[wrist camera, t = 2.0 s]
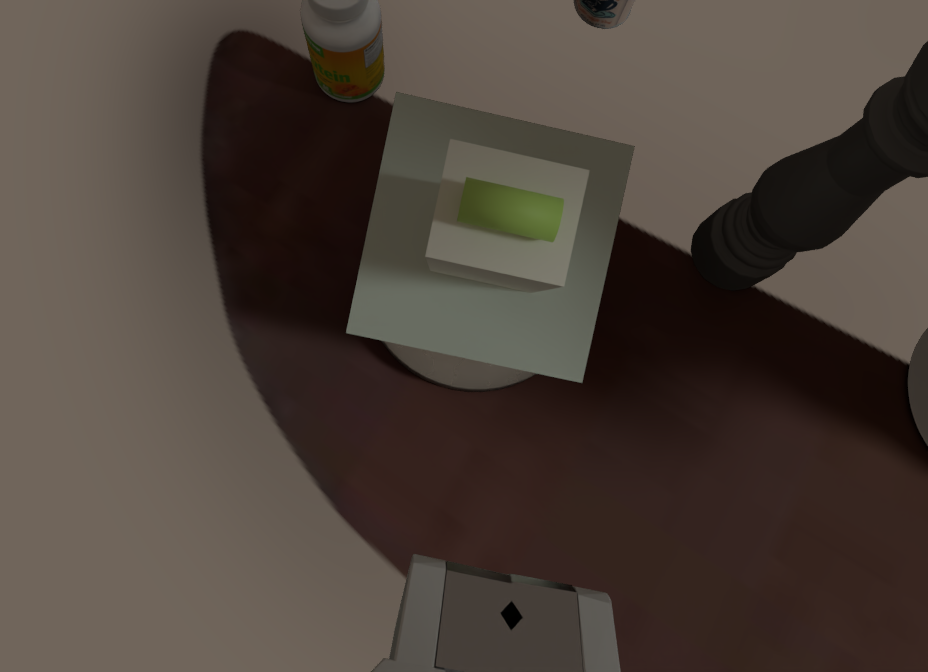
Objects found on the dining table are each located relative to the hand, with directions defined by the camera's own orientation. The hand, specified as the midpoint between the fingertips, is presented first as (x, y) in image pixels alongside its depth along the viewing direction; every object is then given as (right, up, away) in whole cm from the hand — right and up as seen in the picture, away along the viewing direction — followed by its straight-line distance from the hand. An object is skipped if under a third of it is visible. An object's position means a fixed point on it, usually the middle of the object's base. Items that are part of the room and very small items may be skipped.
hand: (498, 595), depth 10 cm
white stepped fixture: (+1, +10, +29) cm, 30 cm away
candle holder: (+20, +10, +40) cm, 46 cm away
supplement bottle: (-9, +24, +40) cm, 48 cm away
